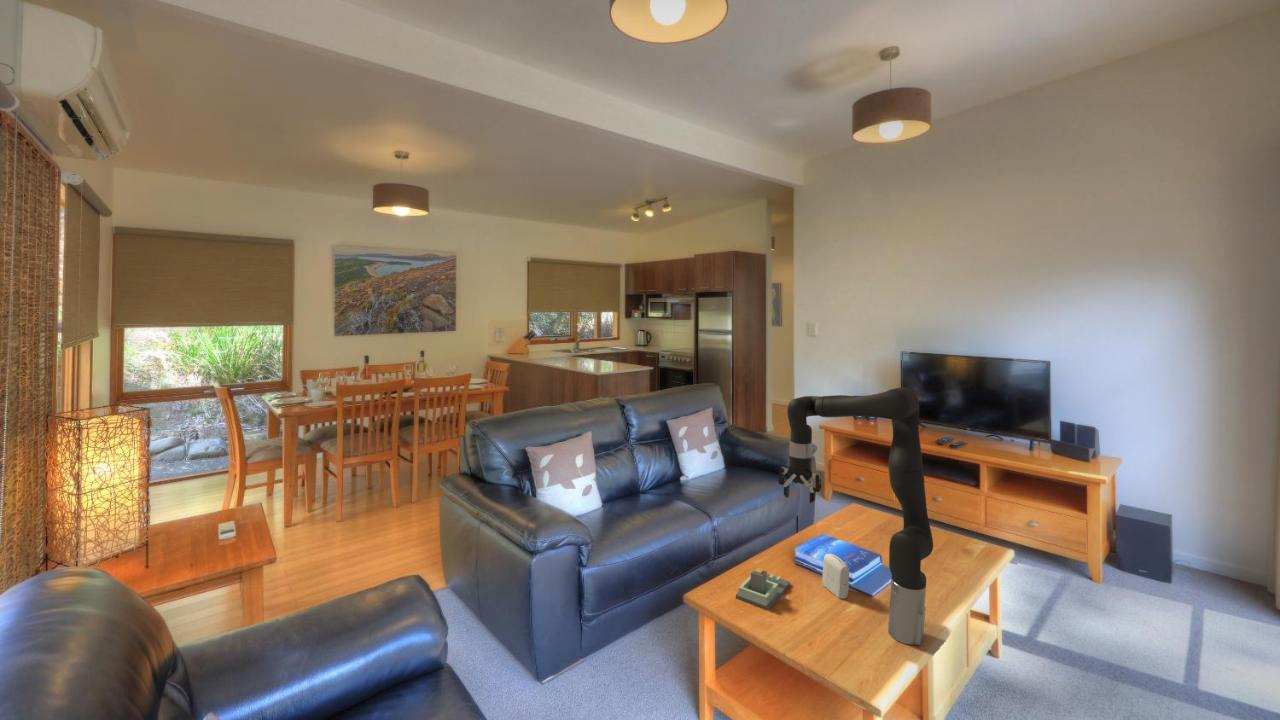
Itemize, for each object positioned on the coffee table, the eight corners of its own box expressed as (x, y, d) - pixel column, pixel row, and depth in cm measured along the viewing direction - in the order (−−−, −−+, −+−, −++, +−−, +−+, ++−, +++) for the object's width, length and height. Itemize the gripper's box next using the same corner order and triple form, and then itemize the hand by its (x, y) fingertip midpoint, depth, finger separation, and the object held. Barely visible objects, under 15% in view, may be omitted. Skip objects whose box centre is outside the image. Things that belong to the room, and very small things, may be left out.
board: (790, 584, 183) (790, 575, 182) (769, 610, 167) (769, 600, 167) (758, 574, 190) (758, 564, 189) (735, 598, 175) (735, 587, 174)
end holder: (777, 592, 176) (778, 584, 176) (766, 606, 168) (766, 597, 168) (750, 582, 182) (751, 574, 181) (738, 595, 174) (738, 587, 173)
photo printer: (850, 598, 175) (851, 563, 173) (839, 600, 173) (841, 565, 172) (830, 582, 184) (832, 549, 183) (820, 584, 183) (821, 551, 182)
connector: (766, 593, 175) (766, 569, 174) (761, 598, 172) (762, 574, 171) (755, 589, 178) (755, 565, 177) (750, 594, 174) (750, 570, 173)
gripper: (824, 455, 176) (823, 500, 178) (784, 448, 184) (783, 492, 186) (818, 460, 170) (816, 507, 172) (776, 453, 178) (775, 498, 180)
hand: (799, 499), depth 179 cm, fingers open, 8 cm apart
